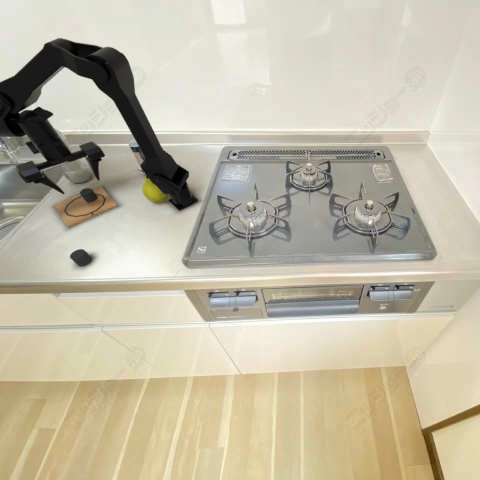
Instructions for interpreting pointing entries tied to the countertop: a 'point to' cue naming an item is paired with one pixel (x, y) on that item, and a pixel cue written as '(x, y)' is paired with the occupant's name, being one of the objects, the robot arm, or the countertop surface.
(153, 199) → the fruit
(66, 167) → the plastic bottle
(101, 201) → the board
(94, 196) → the eye dot right
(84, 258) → the eye dot left
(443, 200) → the countertop surface
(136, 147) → the beer can
